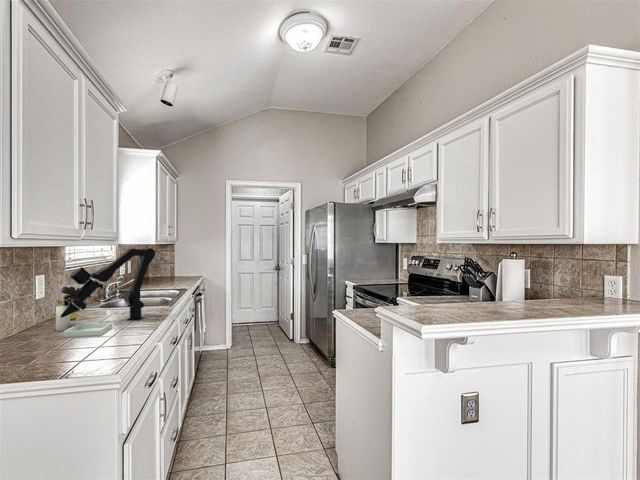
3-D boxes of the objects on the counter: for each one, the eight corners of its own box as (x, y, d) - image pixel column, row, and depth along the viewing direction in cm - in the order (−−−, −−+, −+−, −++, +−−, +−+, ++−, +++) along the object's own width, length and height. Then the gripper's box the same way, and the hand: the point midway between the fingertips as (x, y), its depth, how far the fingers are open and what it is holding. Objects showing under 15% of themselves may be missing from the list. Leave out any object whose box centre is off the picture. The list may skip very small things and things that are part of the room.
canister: (59, 328, 174) (59, 305, 174) (72, 327, 175) (72, 305, 175) (53, 331, 168) (53, 307, 168) (66, 330, 170) (67, 307, 170)
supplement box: (57, 320, 189) (57, 299, 189) (68, 318, 194) (68, 298, 194) (65, 321, 187) (65, 300, 187) (76, 319, 193) (76, 298, 193)
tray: (77, 329, 173) (77, 323, 173) (112, 327, 176) (112, 322, 176) (62, 337, 158) (63, 331, 158) (100, 336, 161) (100, 330, 161)
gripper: (68, 278, 181) (40, 302, 173) (78, 281, 168) (49, 308, 160) (85, 292, 187) (60, 316, 179) (97, 296, 174) (70, 323, 166)
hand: (59, 315), depth 171 cm, fingers closed on canister, 5 cm apart
